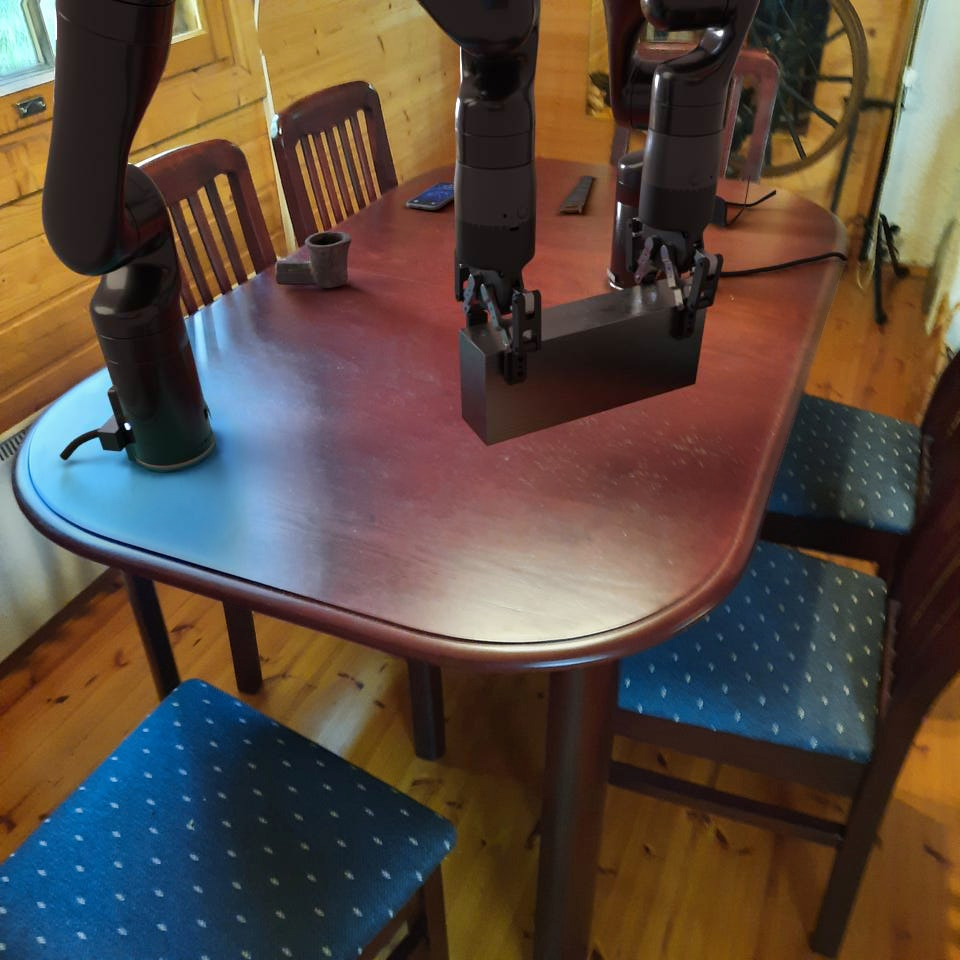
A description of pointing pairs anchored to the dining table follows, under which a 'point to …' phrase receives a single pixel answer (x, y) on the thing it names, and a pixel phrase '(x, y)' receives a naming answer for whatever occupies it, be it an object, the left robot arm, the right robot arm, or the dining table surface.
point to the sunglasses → (721, 205)
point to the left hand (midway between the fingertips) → (495, 363)
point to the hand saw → (577, 197)
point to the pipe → (318, 262)
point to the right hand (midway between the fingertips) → (662, 325)
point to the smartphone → (433, 197)
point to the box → (579, 362)
